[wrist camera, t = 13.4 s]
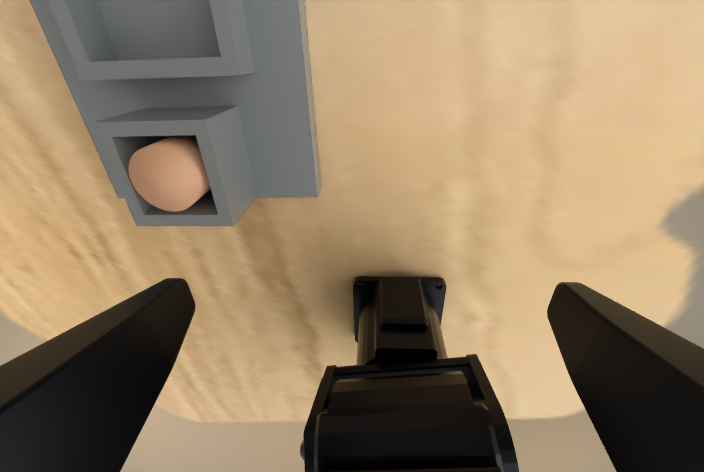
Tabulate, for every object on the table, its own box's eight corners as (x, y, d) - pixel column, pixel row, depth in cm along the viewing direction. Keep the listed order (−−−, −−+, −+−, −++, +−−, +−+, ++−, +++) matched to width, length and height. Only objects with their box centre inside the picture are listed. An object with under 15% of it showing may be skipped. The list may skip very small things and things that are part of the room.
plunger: (232, 185, 17) (205, 211, 14) (179, 185, 17) (143, 211, 15) (219, 128, 16) (186, 145, 13) (161, 130, 16) (117, 147, 13)
